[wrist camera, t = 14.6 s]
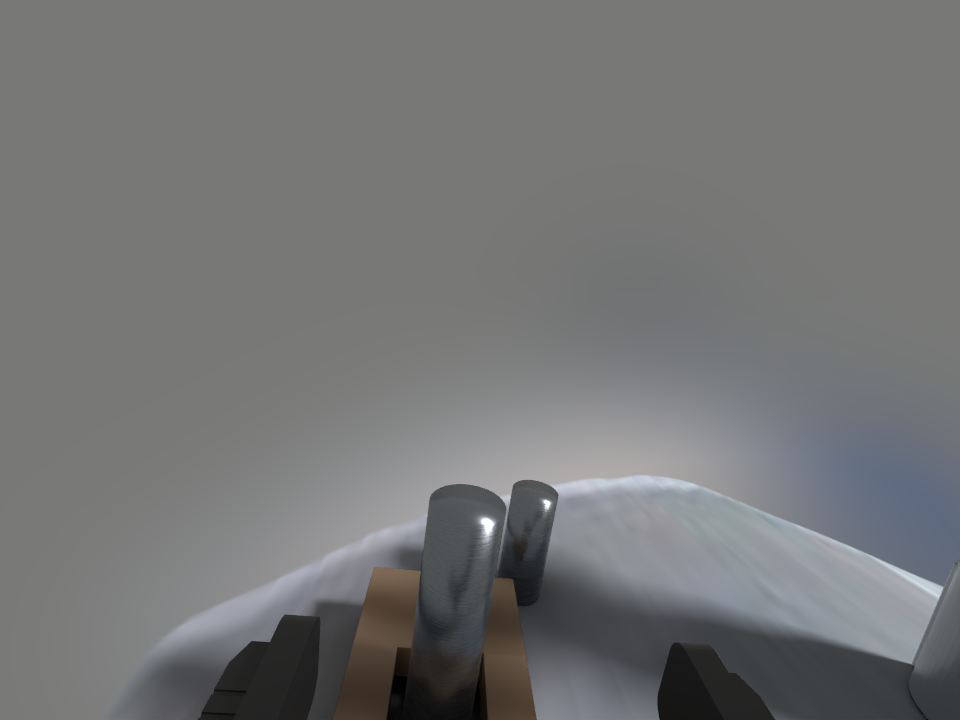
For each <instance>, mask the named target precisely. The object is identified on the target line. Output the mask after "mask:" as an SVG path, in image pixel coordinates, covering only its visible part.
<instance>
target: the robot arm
mask: <svg viewBox="0 0 960 720" xmlns="http://www.w3.org/2000/svg"><path fill="white" fill-rule="evenodd" d="M319 638H320V618H319V617H312V616H298V615H284V616H283V617H282V619H281V620H280V622H279V624H278V626H277V629H276V631H275V633H274V635H273V637H272V639H271V641H270V642H257V641H251V642H250V643H249V644H248V645H247V646H246V647H245V648H244V649H243V650H242V651H241V652H240V653H239V654H238V655H237V656H236V657H235V658H234V659H232V660H231V661H230V662H229V664H228V666H227V667H226V669H225V671H224V673H223V675H222V676H221V678H220V680H219V682H218V684H217V686H216V687H215V689H214V693H213V695H211V696H210V698H209V700H208V702H207V704H206V705H205V707H204V709H203V711H202V714H201V717H200V718H198V720H307V717H308V714H309V711H310V708H311V704H312V701H313V697H314V692H315V687H316V682H317V675H318V658H319ZM912 663H913V665H914V670H913V672H912V674H911V677H910V680H909V684H908V685H909V689H910V694H911V695H912V697H913V699H914V701H915V703H916V705H917V706H918V707H919V709H920V710H921V711H922V713H923V714H924V715H925V716H926V718H927V719H928V720H960V560H957V561H956V562H955V563H954V565H953V567H952V570H951V572H950V574H949V577H948V579H947V581H946V584H945V586H944V589H943V591H942V593H941V596H940V598H939V600H938V603H937V605H936V608H935V610H934V612H933V615H932V617H931V619H930V622H929V624H928V627H927V629H926V631H925V634H924V636H923V638H922V641H921V643H920V646H919V648H918V650H917V653H916V655H915V657H914V660H913V662H912ZM658 713H659V718H660V720H775V719H774V717H773V716H772V714H771V713H770V711H769V710H768V708H767V707H766V705H765V704H764V702H763V701H762V699H761V698H760V696H759V695H758V694H757V693H756V692H755V691H754V690H753V689H752V688H750V687H749V686H748V685H747V684H746V683H745V682H744V681H743V680H742V679H741V678H740V677H739V676H738V675H737V674H735V673H728V671H727V670H726V668H725V666H724V665H723V663H722V662H721V660H720V659H719V657H718V655H717V654H716V652H715V651H714V650H713V649H712V647H710V646H709V645H703V644H688V643H674V644H673V645H672V646H671V649H670V652H669V656H668V659H667V663H666V667H665V670H664V674H663V677H662V681H661V685H660V688H659V692H658Z"/></svg>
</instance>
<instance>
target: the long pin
mask: <svg viewBox="0 0 960 720" xmlns="http://www.w3.org/2000/svg"><path fill="white" fill-rule="evenodd" d="M505 514H506V506H505V503H504V502H503V500H502V499H501V498H500V497H499V496H497V495H496V494H494V493H493V492H491V491H489V490H487V489H484V488H481V487H477V486H473V485H465V484H456V485H448V486H444V487H442V488H440V489H437V490H436V491H435V492H434V493H432V495H431V497H430V501H429V509H428V517H427V525H426V533H425V541H424V549H423V557H422V565H421V573H420V581H419V589H418V597H417V605H416V613H415V621H414V629H413V637H412V645H411V653H410V661H409V669H408V676H407V684H406V692H405V700H404V708H403V716H402V720H471V718H472V712H473V706H474V700H475V694H476V688H477V682H478V676H479V670H480V664H481V658H482V652H483V646H484V640H485V634H486V628H487V622H488V616H489V610H490V604H491V598H492V592H493V586H494V580H495V574H496V568H497V562H498V556H499V550H500V544H501V538H502V532H503V526H504V520H505Z"/></svg>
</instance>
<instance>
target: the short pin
mask: <svg viewBox="0 0 960 720" xmlns="http://www.w3.org/2000/svg"><path fill="white" fill-rule="evenodd" d="M557 500H558V493H557V492H556V490H555V489H554V488H552V487H551V486H549V485H547V484H544V483H542V482H539V481H534V480H522V481H518V482H516V483H515V484H514V485H513V489H512V495H511V500H510V506H509V512H508V518H507V524H506V530H505V536H504V542H503V548H502V554H501V560H500V566H499V571H498V577H497V578H506V579H513V582H514V588H515V594H516V600H517V605H530V604H532V603H534V602H535V601H536V600H537V599H538V597H539V593H540V588H541V583H542V577H543V572H544V567H545V562H546V557H547V552H548V546H549V541H550V536H551V531H552V526H553V521H554V516H555V510H556V505H557Z"/></svg>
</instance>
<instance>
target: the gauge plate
mask: <svg viewBox="0 0 960 720" xmlns="http://www.w3.org/2000/svg"><path fill="white" fill-rule="evenodd" d="M420 573H421V571H415V570H404V569H392V568H381V567H374V569H373V572H372V576H371V580H370V583H369V587H368V591H367V594H366V598H365V602H364V606H363V609H362V613H361V617H360V620H359V624H358V628H357V632H356V635H355V639H354V643H353V646H352V650H351V654H350V657H349V661H348V665H347V669H346V672H345V676H344V680H343V683H342V687H341V691H340V695H339V698H338V702H337V706H336V709H335V713H334V717H333V720H387V718H388V712H389V705H390V699H391V692H392V685H393V679H394V675H396V676H408V669H409V661H410V653H411V645H412V637H413V629H414V621H415V613H416V605H417V597H418V589H419V581H420ZM478 681H479V691H480V711H481V720H537V719H536V713H535V707H534V701H533V695H532V689H531V683H530V677H529V671H528V665H527V659H526V654H525V648H524V642H523V636H522V630H521V624H520V618H519V612H518V606H517V600H516V594H515V588H514V582H513V579H506V578H495V580H494V586H493V592H492V598H491V604H490V610H489V616H488V622H487V628H486V634H485V640H484V646H483V652H482V658H481V664H480V670H479V676H478Z"/></svg>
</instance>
